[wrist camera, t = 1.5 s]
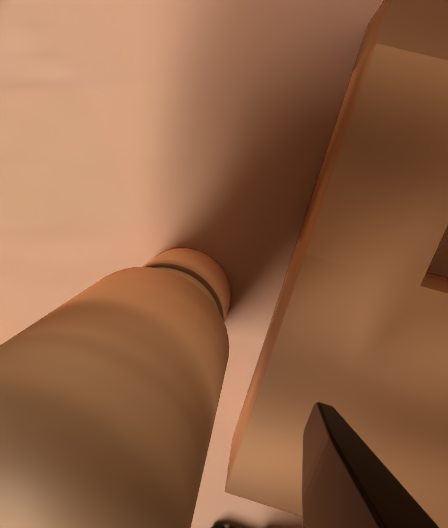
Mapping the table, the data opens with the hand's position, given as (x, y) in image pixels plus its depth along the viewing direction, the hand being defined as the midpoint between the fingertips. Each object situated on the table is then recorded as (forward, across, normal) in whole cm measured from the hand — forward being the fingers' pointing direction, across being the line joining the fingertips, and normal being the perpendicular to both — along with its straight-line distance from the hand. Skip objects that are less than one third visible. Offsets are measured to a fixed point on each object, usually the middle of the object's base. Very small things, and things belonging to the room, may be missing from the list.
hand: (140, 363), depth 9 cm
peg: (+5, 0, 0) cm, 5 cm away
